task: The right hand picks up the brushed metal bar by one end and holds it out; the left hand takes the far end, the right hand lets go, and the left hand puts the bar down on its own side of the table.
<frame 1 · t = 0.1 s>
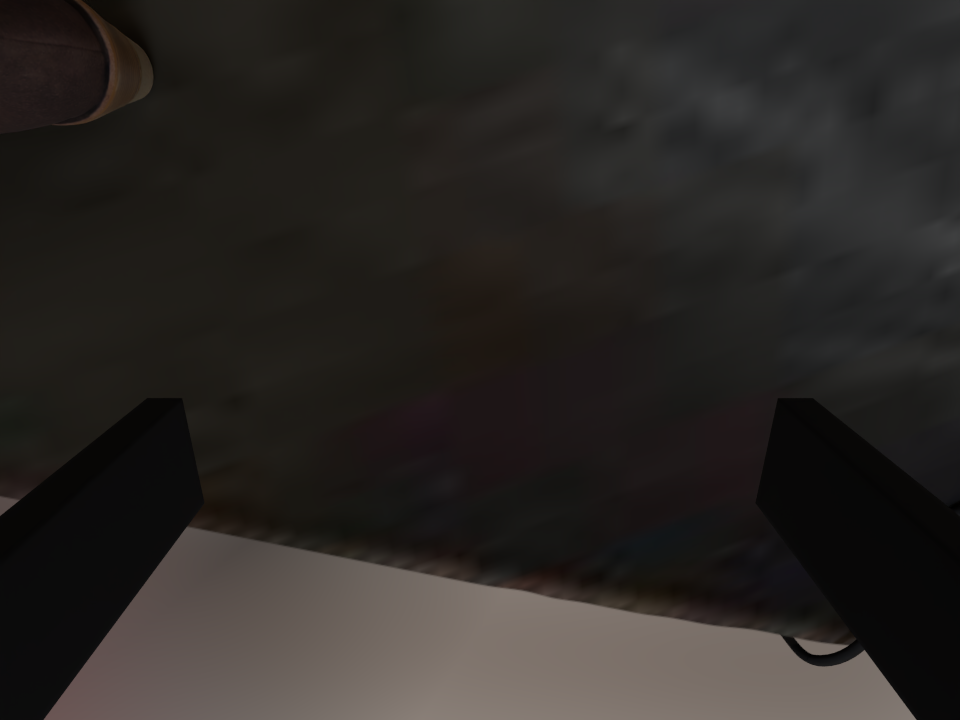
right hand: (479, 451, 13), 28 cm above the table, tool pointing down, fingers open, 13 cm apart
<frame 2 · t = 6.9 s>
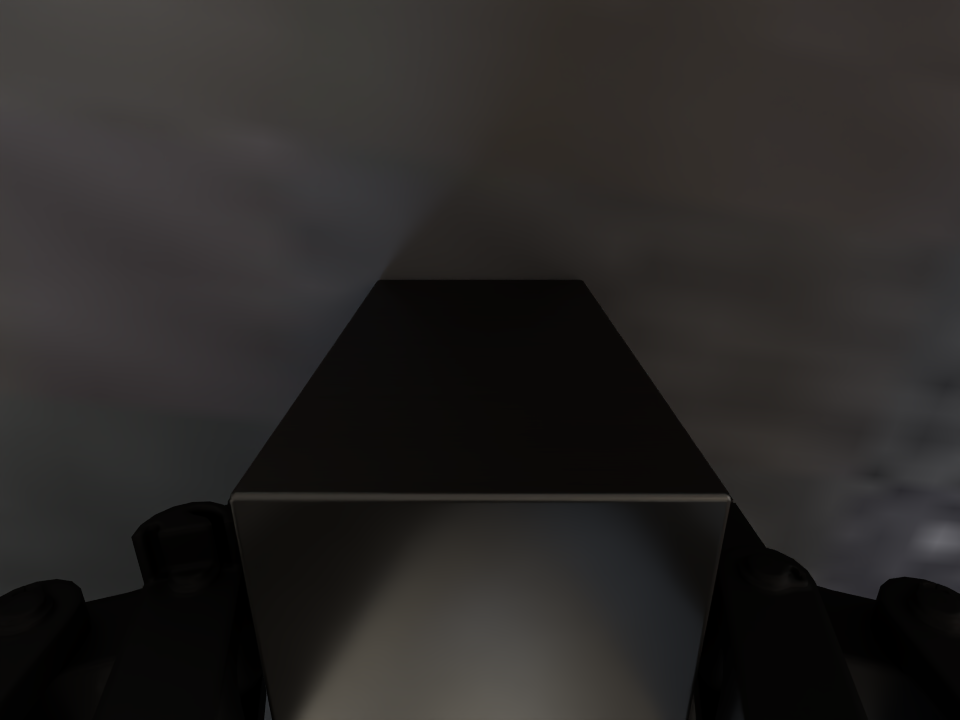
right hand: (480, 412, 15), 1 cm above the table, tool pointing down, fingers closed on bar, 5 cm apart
bar: (480, 673, 19), on the table, touching right hand
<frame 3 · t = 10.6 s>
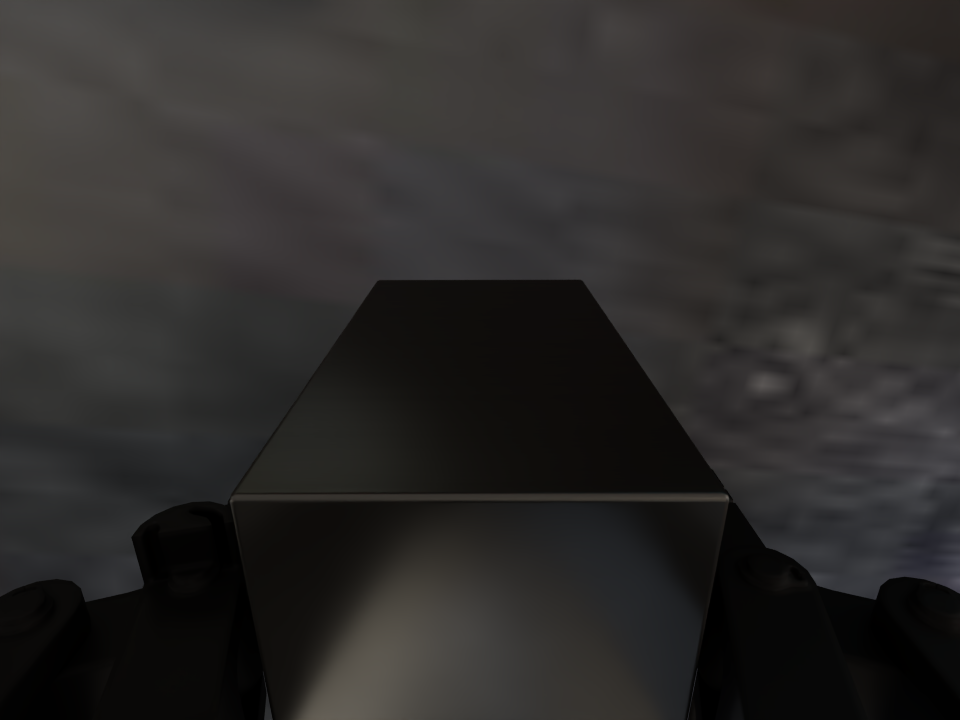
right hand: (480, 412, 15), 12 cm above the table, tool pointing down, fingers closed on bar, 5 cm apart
bar: (480, 673, 19), point 12 cm above the table, touching right hand, left hand
when the right hand's fingers open (12 cm above the table, at t = 11.4 s): bar stays where it is, held by the left hand.
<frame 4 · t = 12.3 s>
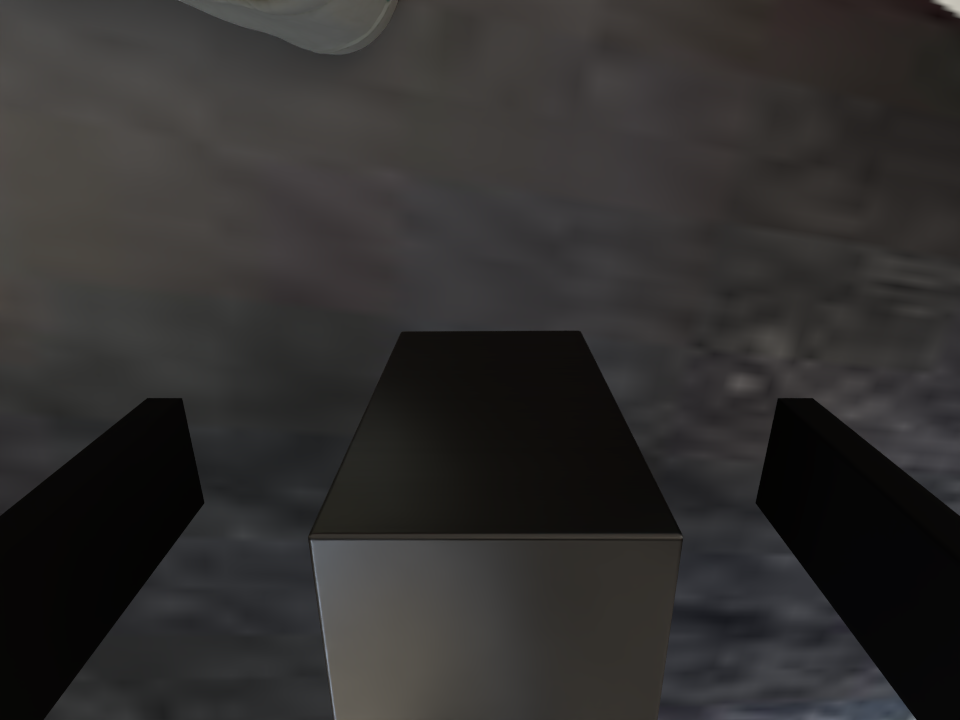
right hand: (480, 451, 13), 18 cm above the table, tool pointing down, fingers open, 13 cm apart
bar: (491, 681, 21), point 14 cm above the table, touching left hand
when the left hand's fingers open (6 cm above the table, at t = 18.5 s): bar stays where it is, on the table.
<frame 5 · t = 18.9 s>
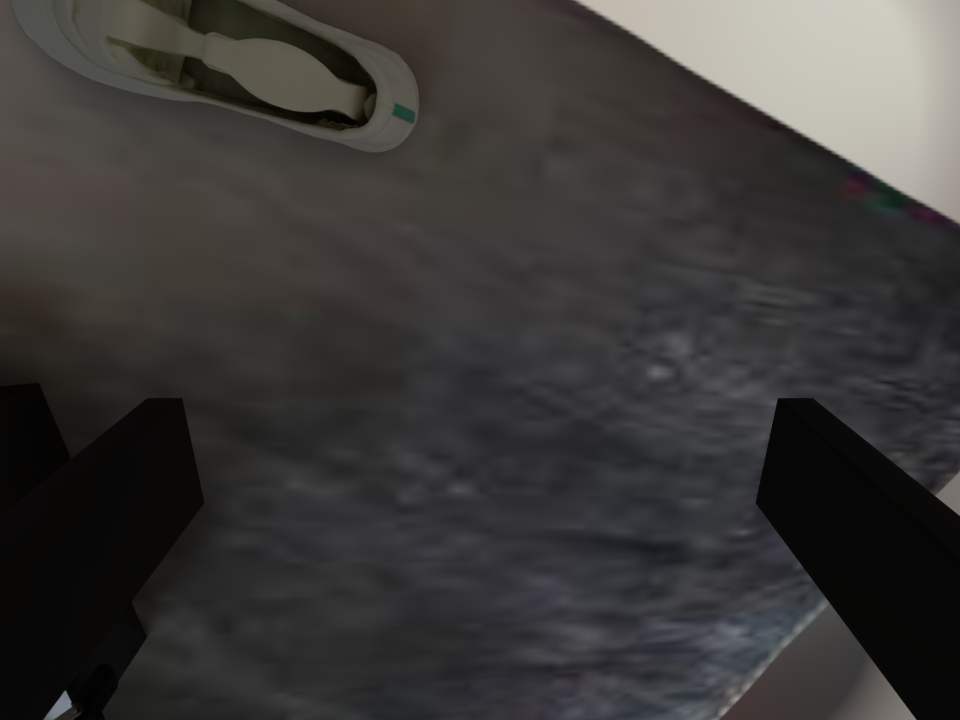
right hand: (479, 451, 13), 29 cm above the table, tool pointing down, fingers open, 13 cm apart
bar: (69, 525, 49), on the table
ballet flat: (235, 50, 36), on the table
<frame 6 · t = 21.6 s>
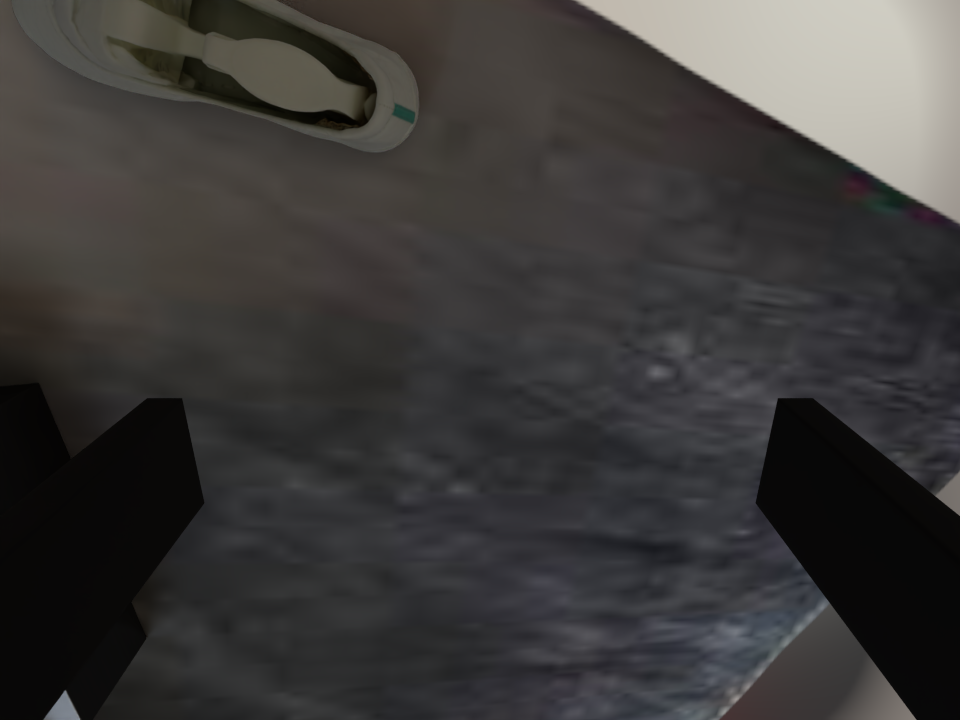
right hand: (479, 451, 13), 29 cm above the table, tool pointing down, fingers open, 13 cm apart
bar: (69, 525, 49), on the table
ballet flat: (235, 50, 36), on the table
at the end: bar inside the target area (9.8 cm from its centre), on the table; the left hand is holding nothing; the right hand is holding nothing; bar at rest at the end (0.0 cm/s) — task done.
